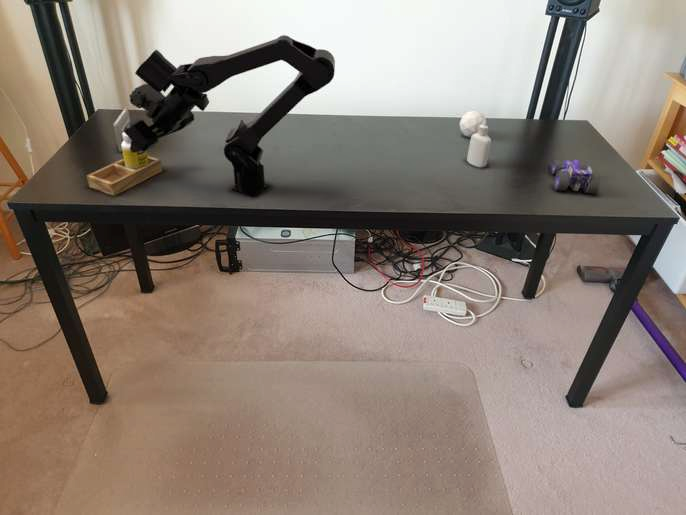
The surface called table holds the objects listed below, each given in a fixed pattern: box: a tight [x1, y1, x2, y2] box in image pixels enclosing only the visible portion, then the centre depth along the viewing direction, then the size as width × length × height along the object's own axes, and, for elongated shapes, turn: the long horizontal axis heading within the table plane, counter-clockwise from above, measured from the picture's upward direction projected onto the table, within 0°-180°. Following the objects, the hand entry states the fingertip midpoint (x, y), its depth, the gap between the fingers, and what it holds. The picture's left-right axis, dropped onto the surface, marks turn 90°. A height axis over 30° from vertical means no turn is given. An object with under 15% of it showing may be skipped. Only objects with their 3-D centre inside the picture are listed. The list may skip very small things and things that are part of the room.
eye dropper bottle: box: [466, 120, 492, 168], centre depth 140 cm, size 4×6×12 cm
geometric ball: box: [459, 110, 487, 139], centre depth 157 cm, size 8×8×8 cm
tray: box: [86, 155, 163, 197], centre depth 127 cm, size 8×15×3 cm, turn 152°
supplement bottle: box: [121, 132, 149, 170], centre depth 127 cm, size 5×5×10 cm
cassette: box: [113, 108, 132, 153], centre depth 143 cm, size 12×2×8 cm, turn 5°
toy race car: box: [550, 159, 601, 195], centre depth 135 cm, size 10×15×6 cm, turn 172°
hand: (144, 143), depth 125 cm, fingers open, 9 cm apart
